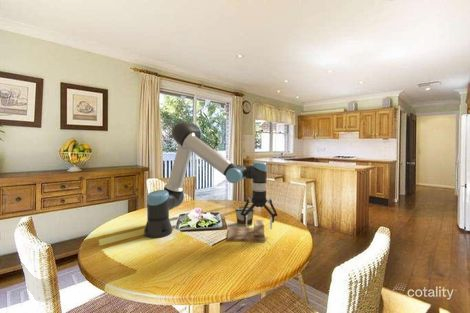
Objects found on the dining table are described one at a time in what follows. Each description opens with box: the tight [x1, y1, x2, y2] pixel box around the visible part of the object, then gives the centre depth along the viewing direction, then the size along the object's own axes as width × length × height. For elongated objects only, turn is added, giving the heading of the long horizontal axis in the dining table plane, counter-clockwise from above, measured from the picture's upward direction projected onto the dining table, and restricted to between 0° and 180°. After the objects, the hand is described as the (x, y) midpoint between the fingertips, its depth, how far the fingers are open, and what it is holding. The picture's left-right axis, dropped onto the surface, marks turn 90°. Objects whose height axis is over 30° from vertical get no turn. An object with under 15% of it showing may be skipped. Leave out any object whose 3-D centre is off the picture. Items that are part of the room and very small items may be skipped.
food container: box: [234, 206, 255, 226], centre depth 153 cm, size 12×6×10 cm, turn 84°
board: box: [226, 226, 266, 243], centre depth 133 cm, size 20×16×1 cm
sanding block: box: [253, 219, 265, 237], centre depth 133 cm, size 5×9×6 cm, turn 177°
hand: (258, 227), depth 133 cm, fingers open, 13 cm apart
